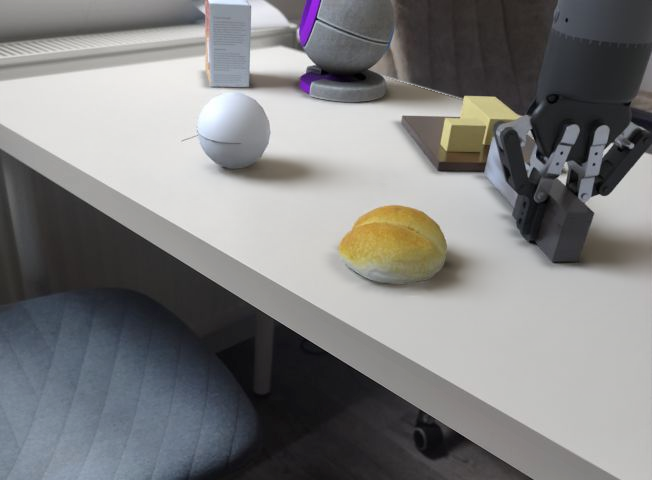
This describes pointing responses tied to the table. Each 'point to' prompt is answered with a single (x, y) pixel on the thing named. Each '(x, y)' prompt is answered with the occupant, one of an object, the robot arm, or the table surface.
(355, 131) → the table surface
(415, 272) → the bread roll
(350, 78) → the webcam
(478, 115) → the butter
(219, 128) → the seamed sphere
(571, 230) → the knife
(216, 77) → the small box
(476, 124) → the butter pat
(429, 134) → the board
